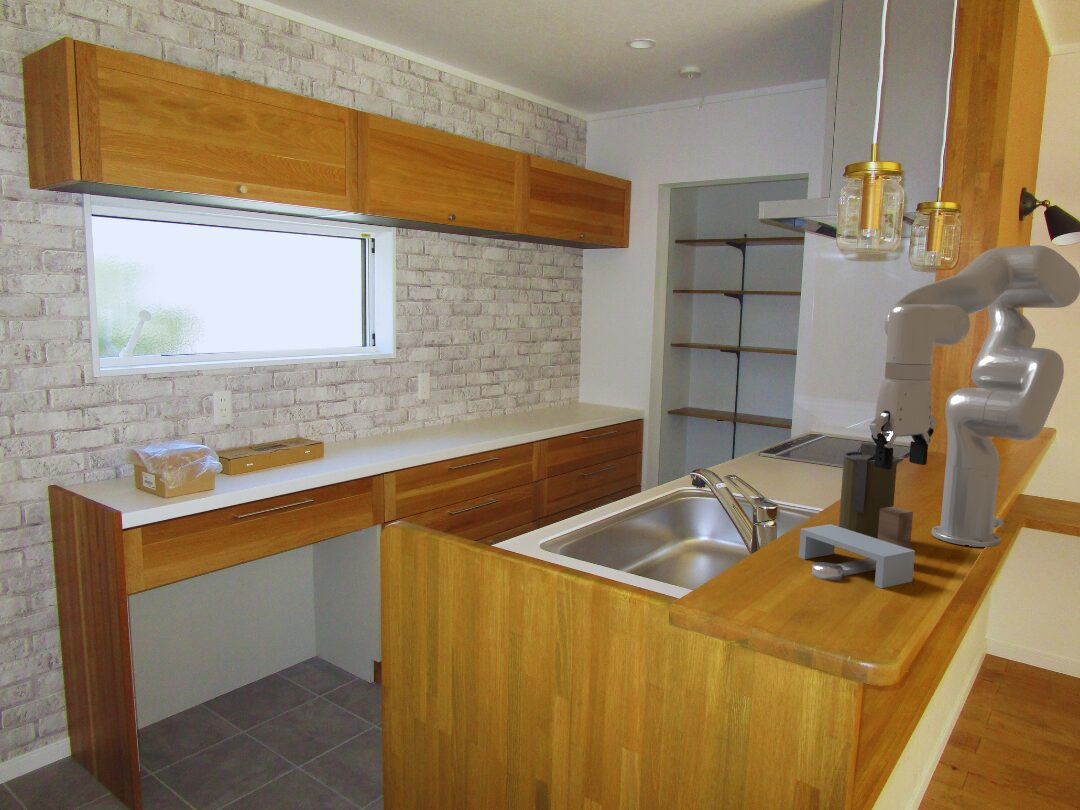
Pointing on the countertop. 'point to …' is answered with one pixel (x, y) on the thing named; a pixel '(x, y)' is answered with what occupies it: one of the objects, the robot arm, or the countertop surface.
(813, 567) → the token
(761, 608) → the countertop surface
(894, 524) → the pusher
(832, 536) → the shelf
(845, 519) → the canister
